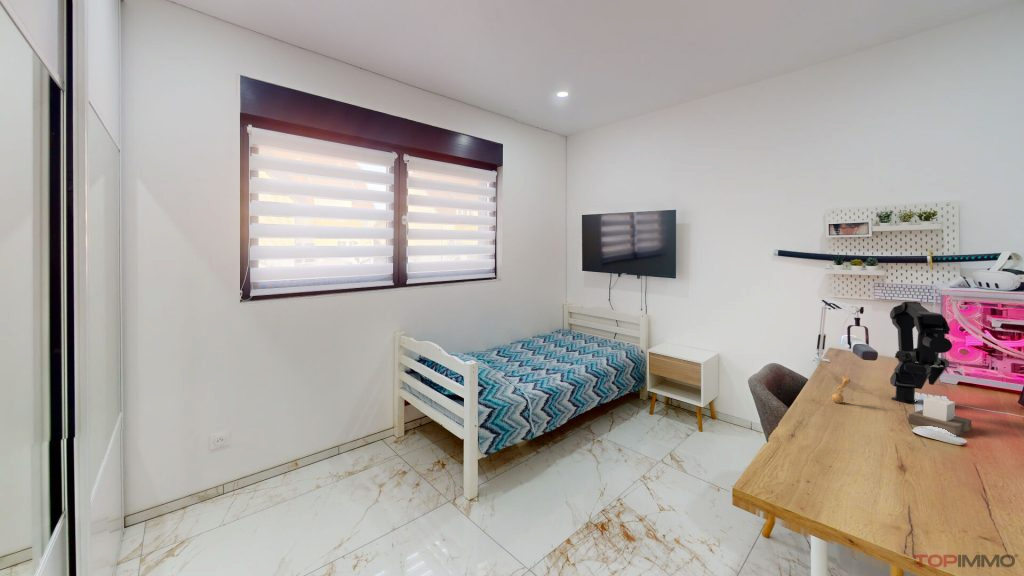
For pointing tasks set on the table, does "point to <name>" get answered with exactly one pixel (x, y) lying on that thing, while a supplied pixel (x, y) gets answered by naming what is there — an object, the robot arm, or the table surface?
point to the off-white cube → (939, 408)
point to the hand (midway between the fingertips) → (925, 386)
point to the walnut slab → (941, 423)
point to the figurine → (837, 396)
